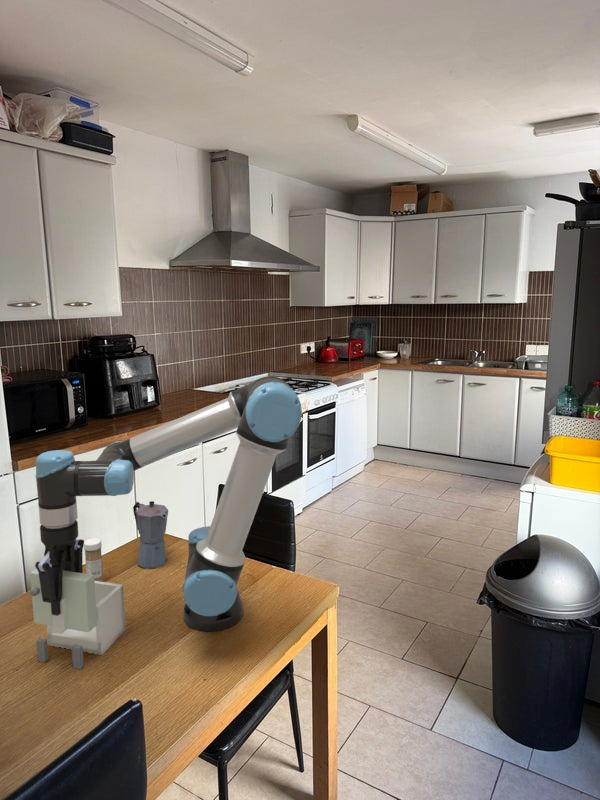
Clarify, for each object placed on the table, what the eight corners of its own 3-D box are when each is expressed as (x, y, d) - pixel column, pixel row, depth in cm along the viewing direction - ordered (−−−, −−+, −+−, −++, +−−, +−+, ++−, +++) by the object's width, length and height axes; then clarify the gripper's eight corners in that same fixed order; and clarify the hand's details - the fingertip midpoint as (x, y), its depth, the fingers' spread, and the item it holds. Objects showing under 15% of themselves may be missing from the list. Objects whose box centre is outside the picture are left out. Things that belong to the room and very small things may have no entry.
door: (97, 624, 124) (94, 575, 122) (85, 635, 120) (82, 584, 118) (43, 615, 127) (39, 566, 125) (30, 625, 123) (26, 575, 121)
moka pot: (157, 575, 163) (154, 510, 160) (121, 562, 171) (118, 500, 168) (180, 562, 171) (178, 500, 167) (145, 550, 179) (142, 491, 176)
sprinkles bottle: (104, 581, 159) (102, 536, 157) (102, 589, 155) (100, 543, 153) (87, 582, 158) (85, 538, 156) (85, 590, 154) (82, 545, 152)
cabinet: (125, 630, 136) (123, 584, 134) (86, 670, 121) (83, 619, 119) (75, 622, 139) (72, 577, 137) (32, 659, 124) (27, 610, 122)
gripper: (67, 507, 129) (73, 600, 133) (16, 535, 113) (25, 639, 117) (96, 510, 127) (101, 605, 131) (48, 539, 111) (55, 645, 116)
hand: (65, 621), depth 124 cm, fingers closed on door, 3 cm apart
